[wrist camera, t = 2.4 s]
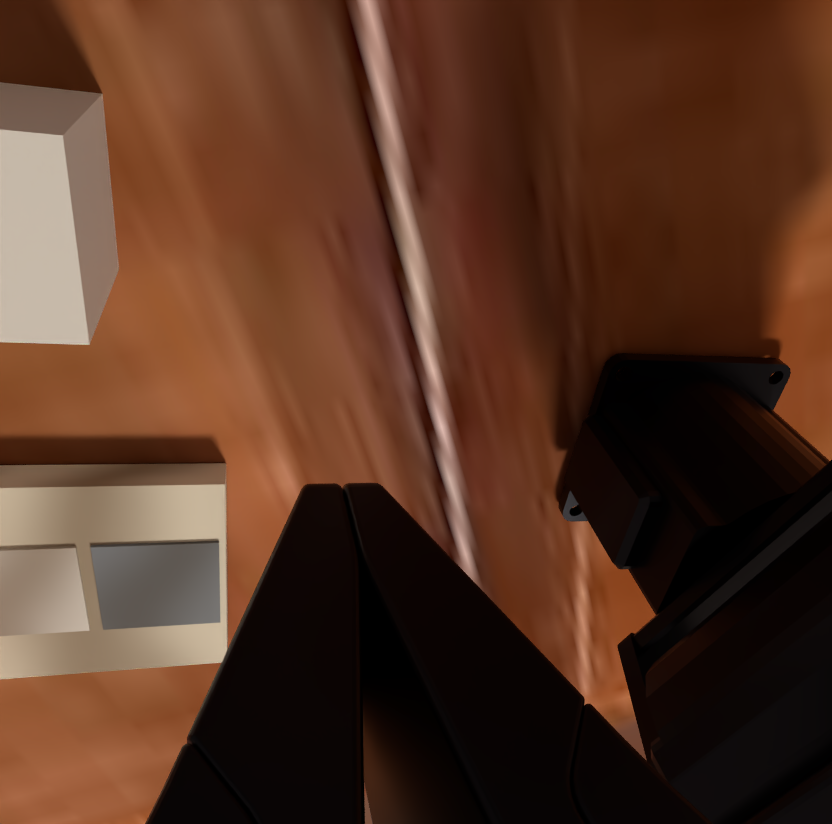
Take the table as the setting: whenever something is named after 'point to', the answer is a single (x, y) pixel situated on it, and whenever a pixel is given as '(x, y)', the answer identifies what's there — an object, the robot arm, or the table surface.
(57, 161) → the white cube
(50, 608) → the track board
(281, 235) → the table surface
